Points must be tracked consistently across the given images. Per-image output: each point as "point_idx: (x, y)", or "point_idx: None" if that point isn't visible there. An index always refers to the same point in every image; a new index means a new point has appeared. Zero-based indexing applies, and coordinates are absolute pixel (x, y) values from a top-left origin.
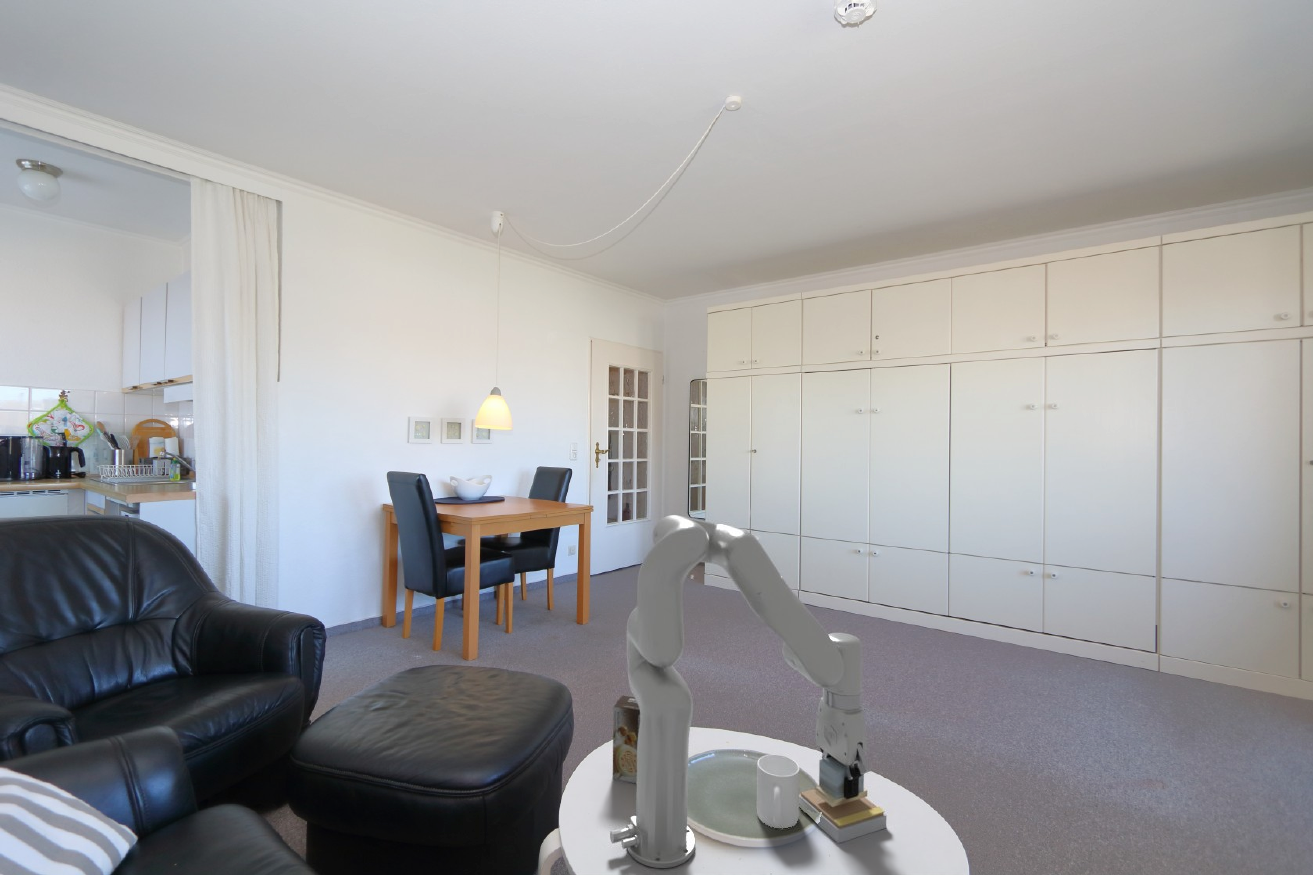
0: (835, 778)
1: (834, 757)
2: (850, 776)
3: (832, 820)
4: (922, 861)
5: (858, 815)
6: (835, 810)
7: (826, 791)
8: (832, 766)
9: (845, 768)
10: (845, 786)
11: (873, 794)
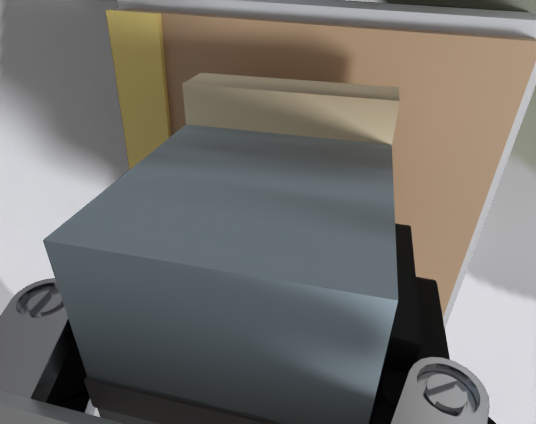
0: (116, 198)
1: (39, 417)
2: (12, 301)
3: (171, 12)
4: (8, 213)
5: None
6: None
7: (296, 134)
8: (181, 300)
9: (47, 353)
10: None
11: None
